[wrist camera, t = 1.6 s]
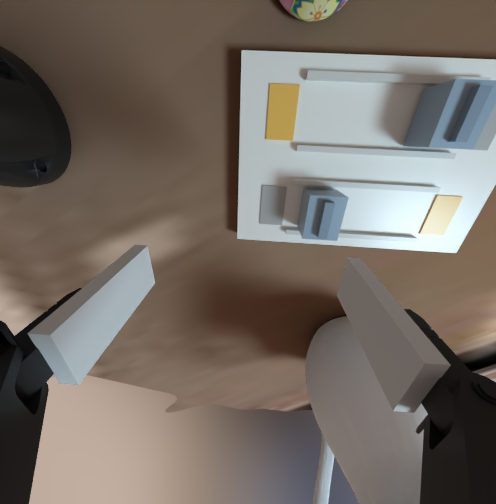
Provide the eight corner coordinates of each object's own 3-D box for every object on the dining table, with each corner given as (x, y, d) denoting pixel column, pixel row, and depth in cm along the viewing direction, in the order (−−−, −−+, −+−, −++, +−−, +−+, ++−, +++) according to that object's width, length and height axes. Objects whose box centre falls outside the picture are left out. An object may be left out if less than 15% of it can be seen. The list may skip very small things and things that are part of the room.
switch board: (238, 233, 32) (236, 241, 29) (243, 57, 22) (240, 46, 20) (445, 246, 31) (461, 255, 28) (540, 68, 21) (576, 59, 19)
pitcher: (346, 286, 35) (550, 637, 10) (411, 333, 39) (673, 668, 14) (259, 358, 45) (255, 627, 20) (318, 389, 48) (375, 647, 24)
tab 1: (297, 226, 28) (303, 241, 24) (303, 187, 26) (311, 197, 22) (327, 228, 28) (339, 243, 24) (336, 189, 26) (351, 199, 21)
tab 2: (403, 146, 23) (434, 147, 19) (422, 89, 21) (464, 76, 17) (440, 148, 23) (481, 149, 19) (464, 91, 21) (517, 78, 16)
